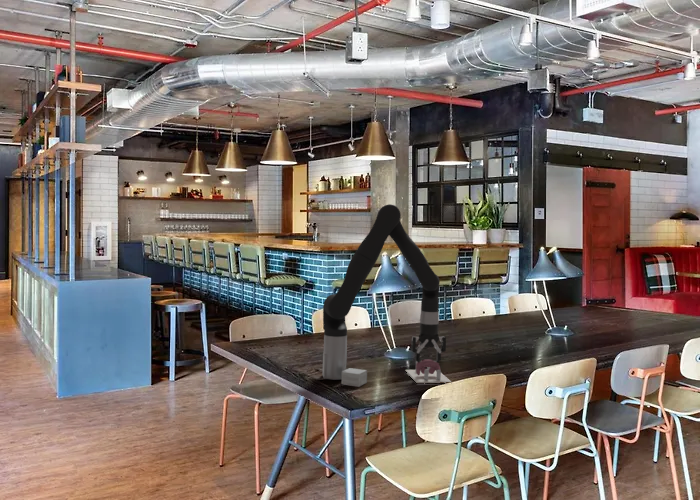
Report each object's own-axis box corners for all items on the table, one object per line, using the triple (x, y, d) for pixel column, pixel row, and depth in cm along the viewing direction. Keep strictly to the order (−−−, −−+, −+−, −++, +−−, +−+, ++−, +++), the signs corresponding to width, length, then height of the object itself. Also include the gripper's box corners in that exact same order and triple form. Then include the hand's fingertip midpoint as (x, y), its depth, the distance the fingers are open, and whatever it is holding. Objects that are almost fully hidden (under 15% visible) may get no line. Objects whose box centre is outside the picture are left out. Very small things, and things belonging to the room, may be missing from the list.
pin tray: (416, 384, 247) (417, 371, 247) (405, 372, 267) (405, 360, 267) (451, 384, 249) (451, 371, 249) (437, 371, 269) (438, 360, 268)
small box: (367, 382, 248) (367, 369, 248) (359, 387, 241) (359, 374, 241) (349, 380, 251) (349, 367, 251) (340, 384, 244) (341, 371, 244)
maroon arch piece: (439, 377, 258) (438, 360, 261) (441, 375, 254) (440, 358, 256) (415, 377, 257) (414, 360, 260) (417, 374, 253) (416, 357, 256)
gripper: (414, 323, 252) (412, 364, 253) (449, 323, 254) (447, 364, 255) (410, 320, 260) (408, 359, 260) (443, 320, 261) (442, 359, 262)
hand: (427, 361), depth 258 cm, fingers closed on maroon arch piece, 7 cm apart
